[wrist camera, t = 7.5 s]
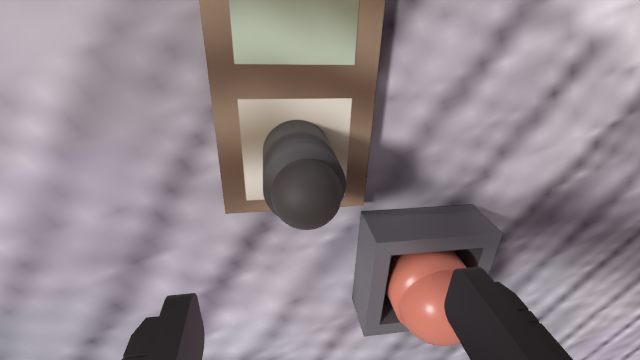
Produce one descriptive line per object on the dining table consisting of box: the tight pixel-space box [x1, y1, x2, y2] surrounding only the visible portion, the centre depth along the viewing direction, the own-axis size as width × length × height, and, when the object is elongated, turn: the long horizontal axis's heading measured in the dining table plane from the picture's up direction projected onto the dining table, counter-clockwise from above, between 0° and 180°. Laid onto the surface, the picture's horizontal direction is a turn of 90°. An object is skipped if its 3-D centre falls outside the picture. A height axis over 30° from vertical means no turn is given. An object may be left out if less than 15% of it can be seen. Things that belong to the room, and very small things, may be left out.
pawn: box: [263, 120, 346, 230], centre depth 18 cm, size 4×4×7 cm
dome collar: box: [352, 205, 503, 336], centre depth 27 cm, size 10×10×4 cm
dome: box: [385, 250, 467, 346], centre depth 24 cm, size 6×6×6 cm
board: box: [199, 0, 385, 214], centre depth 20 cm, size 18×10×1 cm, turn 178°
